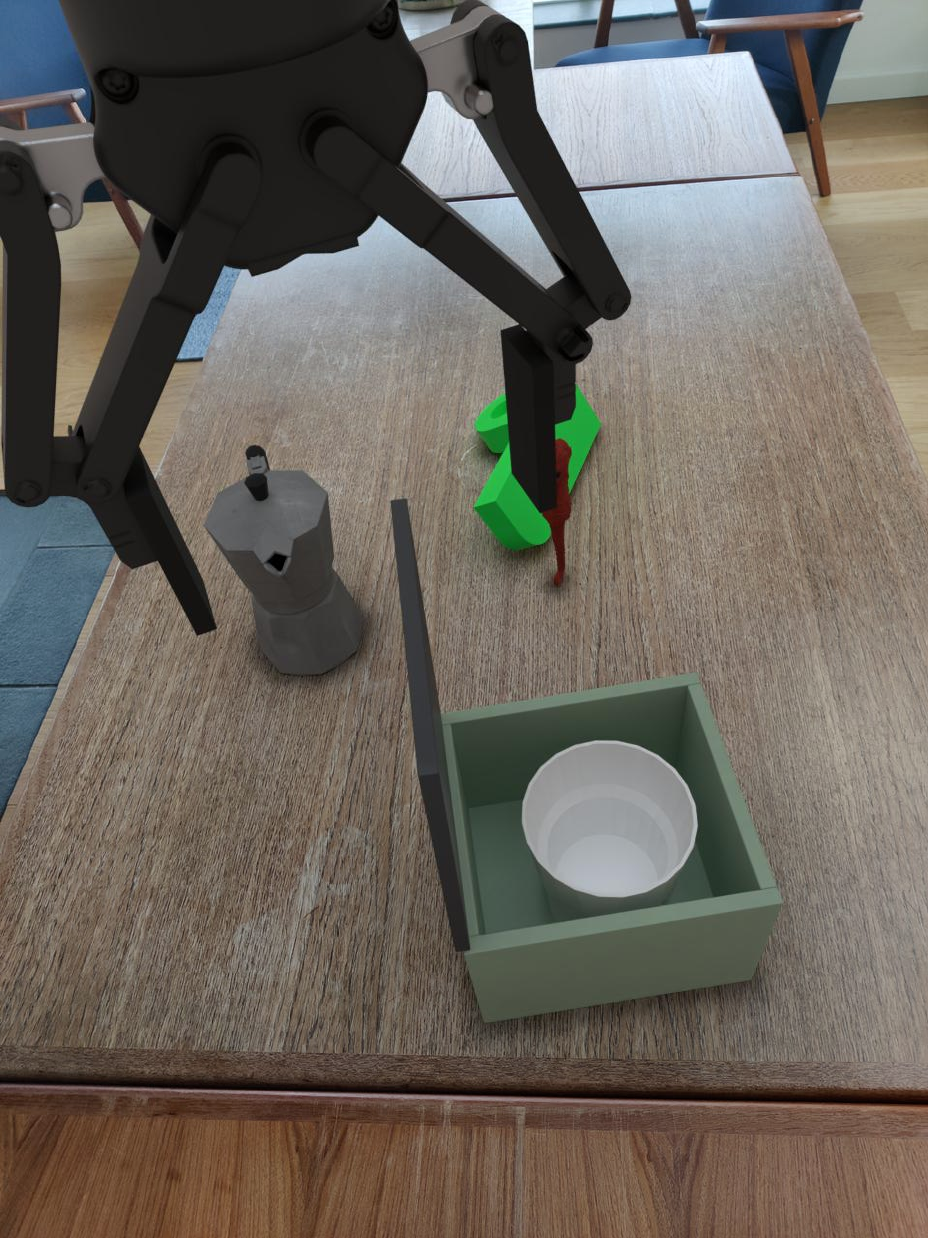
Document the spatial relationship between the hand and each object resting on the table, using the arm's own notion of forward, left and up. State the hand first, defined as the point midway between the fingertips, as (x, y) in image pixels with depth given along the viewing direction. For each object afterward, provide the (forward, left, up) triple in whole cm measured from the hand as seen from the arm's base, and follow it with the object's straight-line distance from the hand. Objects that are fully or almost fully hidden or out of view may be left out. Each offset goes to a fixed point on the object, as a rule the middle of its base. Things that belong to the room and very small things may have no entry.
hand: (373, 547), depth 34 cm
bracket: (+15, -40, -35) cm, 55 cm away
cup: (-8, -5, -34) cm, 35 cm away
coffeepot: (+24, -17, -35) cm, 45 cm away
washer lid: (-1, -1, -13) cm, 13 cm away
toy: (+6, -30, -35) cm, 46 cm away
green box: (-7, -5, -34) cm, 35 cm away
